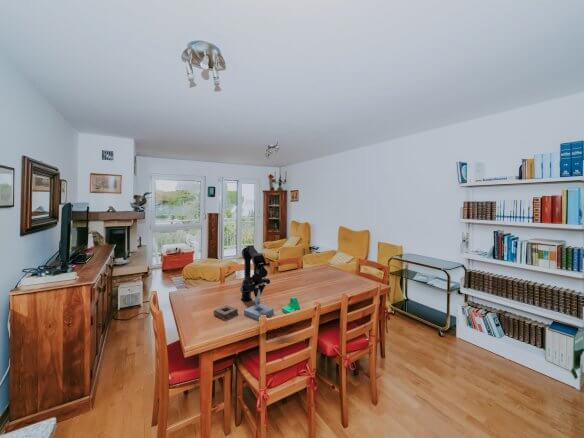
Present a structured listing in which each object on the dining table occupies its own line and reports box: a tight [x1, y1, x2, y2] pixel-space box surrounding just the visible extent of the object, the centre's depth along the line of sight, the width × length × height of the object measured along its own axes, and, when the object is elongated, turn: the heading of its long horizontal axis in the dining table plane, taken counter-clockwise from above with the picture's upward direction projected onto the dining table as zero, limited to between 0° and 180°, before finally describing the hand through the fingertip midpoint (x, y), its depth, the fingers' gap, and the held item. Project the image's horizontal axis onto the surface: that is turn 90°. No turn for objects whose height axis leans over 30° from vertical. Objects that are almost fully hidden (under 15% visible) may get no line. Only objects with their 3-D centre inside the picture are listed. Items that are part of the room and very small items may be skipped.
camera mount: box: [281, 296, 301, 314], centre depth 171 cm, size 12×8×10 cm, turn 42°
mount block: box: [213, 304, 239, 320], centre depth 167 cm, size 11×11×3 cm
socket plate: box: [243, 303, 274, 321], centre depth 169 cm, size 14×14×3 cm
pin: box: [254, 288, 261, 305], centre depth 168 cm, size 3×3×10 cm
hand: (257, 296), depth 168 cm, fingers closed on pin, 3 cm apart
